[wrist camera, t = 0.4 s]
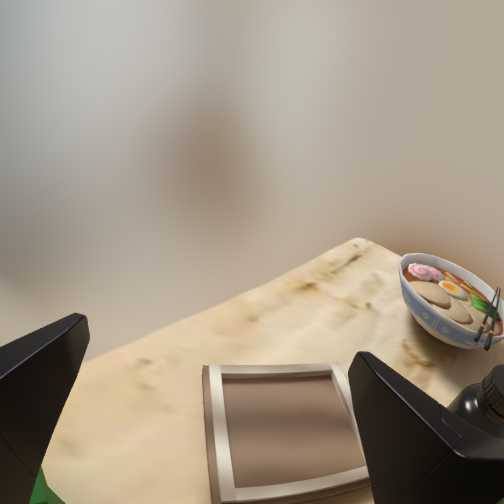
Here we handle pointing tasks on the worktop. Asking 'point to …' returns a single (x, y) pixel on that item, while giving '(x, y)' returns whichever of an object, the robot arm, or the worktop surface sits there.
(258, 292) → the worktop surface
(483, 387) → the supplement bottle
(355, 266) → the worktop surface
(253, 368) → the beige square tray
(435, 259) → the ramen bowl
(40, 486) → the clamp
